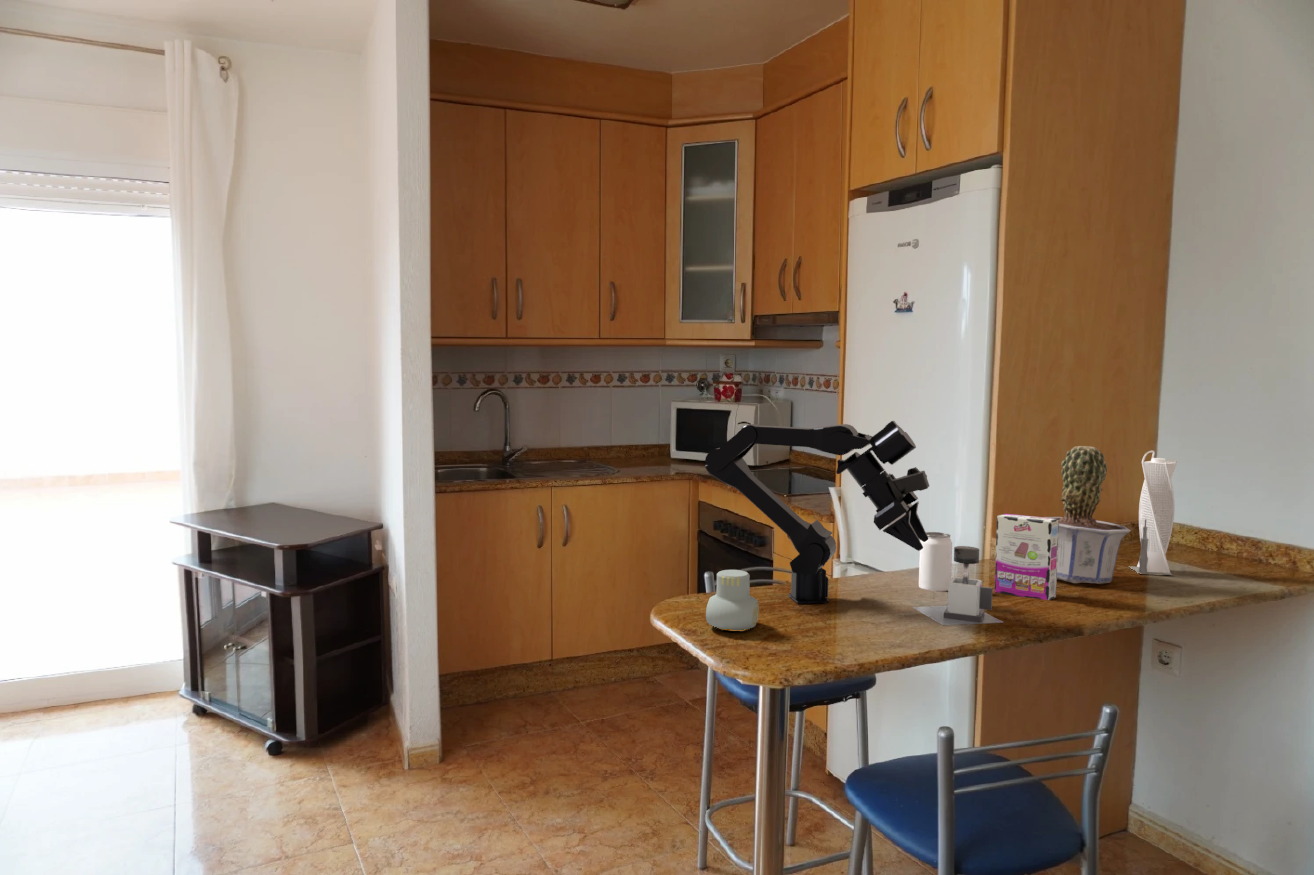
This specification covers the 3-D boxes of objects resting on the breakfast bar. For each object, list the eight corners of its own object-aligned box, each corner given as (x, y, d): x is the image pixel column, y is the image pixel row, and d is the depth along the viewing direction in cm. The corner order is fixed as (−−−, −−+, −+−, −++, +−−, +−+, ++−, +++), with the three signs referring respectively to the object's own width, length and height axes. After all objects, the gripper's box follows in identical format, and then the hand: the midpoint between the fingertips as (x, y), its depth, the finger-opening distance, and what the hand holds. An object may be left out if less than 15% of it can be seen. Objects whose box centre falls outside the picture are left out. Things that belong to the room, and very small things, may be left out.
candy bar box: (1056, 597, 181) (1060, 518, 179) (1048, 602, 177) (1051, 521, 176) (1002, 588, 188) (1005, 512, 187) (993, 592, 184) (996, 514, 183)
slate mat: (942, 629, 158) (942, 625, 158) (911, 611, 170) (912, 607, 170) (1003, 626, 160) (1003, 622, 160) (969, 608, 172) (969, 604, 172)
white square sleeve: (943, 617, 162) (944, 583, 162) (949, 609, 168) (950, 575, 168) (989, 623, 159) (990, 588, 158) (993, 614, 165) (994, 580, 164)
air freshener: (750, 638, 152) (751, 581, 151) (703, 634, 154) (703, 578, 153) (760, 621, 162) (760, 567, 162) (716, 617, 165) (716, 564, 164)
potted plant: (1132, 593, 185) (1140, 450, 182) (1040, 585, 190) (1046, 447, 188) (1118, 574, 201) (1125, 443, 199) (1033, 568, 207) (1038, 441, 205)
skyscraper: (1126, 566, 209) (1131, 449, 207) (1162, 568, 208) (1168, 450, 206) (1140, 574, 201) (1146, 453, 199) (1178, 576, 200) (1185, 453, 198)
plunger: (951, 590, 163) (952, 549, 162) (954, 585, 166) (956, 545, 166) (976, 593, 161) (977, 551, 160) (979, 588, 164) (980, 547, 164)
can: (952, 595, 182) (954, 538, 181) (919, 593, 183) (921, 536, 182) (948, 587, 188) (950, 532, 187) (917, 586, 189) (918, 531, 188)
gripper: (900, 458, 159) (955, 529, 156) (913, 450, 176) (962, 513, 174) (851, 494, 163) (904, 563, 160) (868, 482, 180) (916, 545, 178)
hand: (923, 544), depth 168 cm, fingers open, 9 cm apart
